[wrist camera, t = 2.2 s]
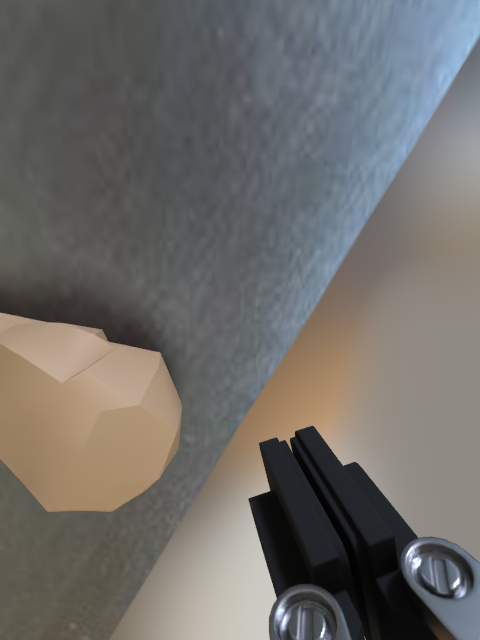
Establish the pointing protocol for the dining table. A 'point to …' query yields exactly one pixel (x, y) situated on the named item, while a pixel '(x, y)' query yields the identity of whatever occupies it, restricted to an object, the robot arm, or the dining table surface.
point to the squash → (83, 414)
